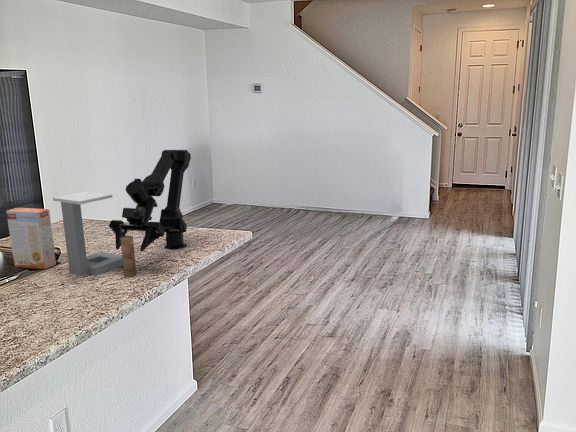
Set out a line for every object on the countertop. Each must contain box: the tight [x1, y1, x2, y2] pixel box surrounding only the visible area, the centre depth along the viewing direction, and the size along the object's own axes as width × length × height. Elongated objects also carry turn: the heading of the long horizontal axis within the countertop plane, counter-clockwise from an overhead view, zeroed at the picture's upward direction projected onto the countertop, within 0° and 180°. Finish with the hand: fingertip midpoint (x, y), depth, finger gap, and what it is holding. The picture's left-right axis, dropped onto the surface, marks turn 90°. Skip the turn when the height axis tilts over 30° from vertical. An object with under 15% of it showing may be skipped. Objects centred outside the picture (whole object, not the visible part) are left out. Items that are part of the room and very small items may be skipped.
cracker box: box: [6, 207, 57, 270], centre depth 186 cm, size 14×6×21 cm, turn 71°
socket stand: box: [52, 191, 123, 277], centre depth 183 cm, size 17×14×26 cm
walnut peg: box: [120, 235, 137, 278], centre depth 176 cm, size 4×4×13 cm
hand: (128, 249), depth 176 cm, fingers open, 9 cm apart
